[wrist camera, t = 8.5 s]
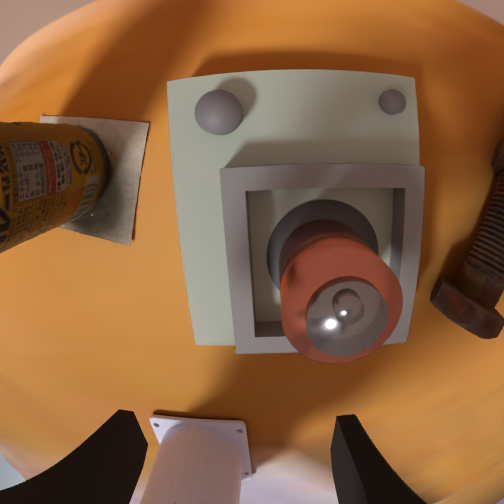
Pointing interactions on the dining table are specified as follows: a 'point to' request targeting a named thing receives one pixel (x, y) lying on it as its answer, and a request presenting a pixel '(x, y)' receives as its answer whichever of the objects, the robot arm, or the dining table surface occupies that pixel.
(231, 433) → the robot arm
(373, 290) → the orange short cylinder
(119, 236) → the yellow metal cylinder
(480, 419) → the dining table surface
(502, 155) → the bolt
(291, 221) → the button control panel
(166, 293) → the dining table surface
